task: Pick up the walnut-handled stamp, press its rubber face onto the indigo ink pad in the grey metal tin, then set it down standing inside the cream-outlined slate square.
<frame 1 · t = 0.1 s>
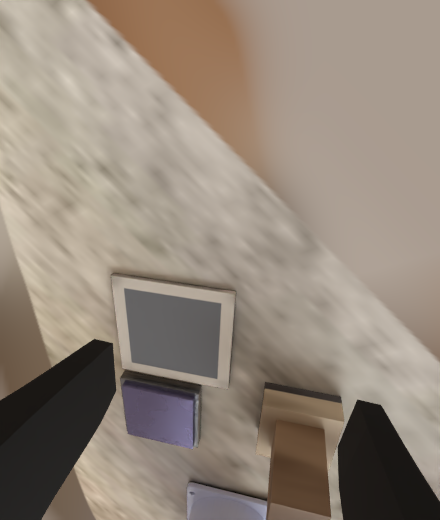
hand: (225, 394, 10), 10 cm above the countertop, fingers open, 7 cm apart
print mark: (174, 332, 23), on the countertop
ink pad: (163, 405, 26), on the countertop
pass stamp: (297, 413, 24), on the countertop
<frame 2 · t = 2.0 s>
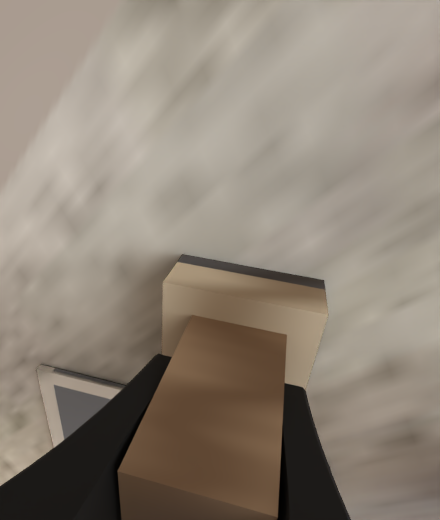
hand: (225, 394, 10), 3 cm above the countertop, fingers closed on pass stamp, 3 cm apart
print mark: (119, 436, 18), on the countertop
pass stamp: (242, 323, 13), on the countertop, touching gripper
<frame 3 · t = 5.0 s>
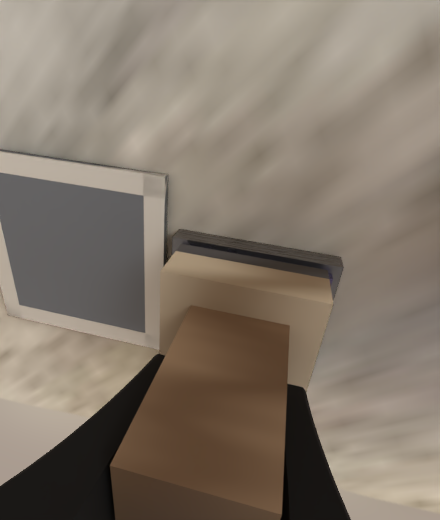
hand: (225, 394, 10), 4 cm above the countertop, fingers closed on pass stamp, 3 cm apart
print mark: (77, 254, 14), on the countertop
ink pad: (246, 308, 14), on the countertop
pass stamp: (242, 315, 12), point 1 cm above the countertop, touching gripper, ink pad
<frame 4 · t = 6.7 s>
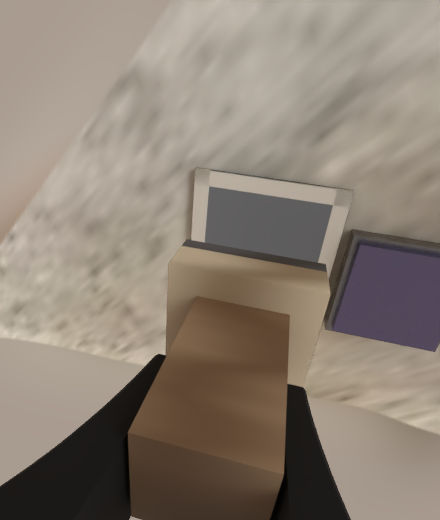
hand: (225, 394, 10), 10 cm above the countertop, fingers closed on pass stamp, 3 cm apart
print mark: (260, 248, 19), on the countertop
ink pad: (393, 288, 18), on the countertop
pass stamp: (245, 308, 13), point 7 cm above the countertop, touching gripper
when the fingers open (5 cm above the countertop, at t = 8.1 s): pass stamp stays where it is, resting on print mark.
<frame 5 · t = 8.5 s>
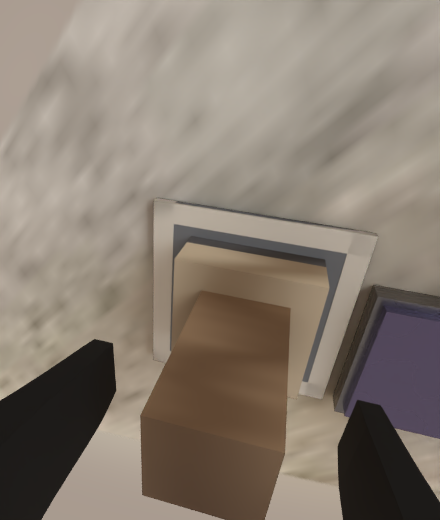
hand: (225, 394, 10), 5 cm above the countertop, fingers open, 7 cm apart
print mark: (246, 304, 14), on the countertop
ink pad: (428, 362, 13), on the countertop
pass stamp: (247, 302, 14), resting on print mark
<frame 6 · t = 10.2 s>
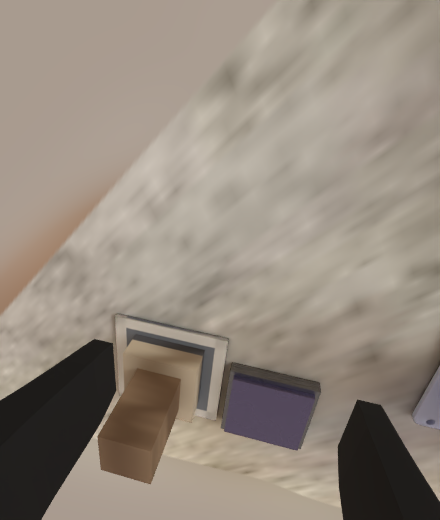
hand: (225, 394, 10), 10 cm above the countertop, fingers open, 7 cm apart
print mark: (169, 368, 25), on the countertop
ink pad: (267, 402, 24), on the countertop
pass stamp: (168, 368, 24), resting on print mark
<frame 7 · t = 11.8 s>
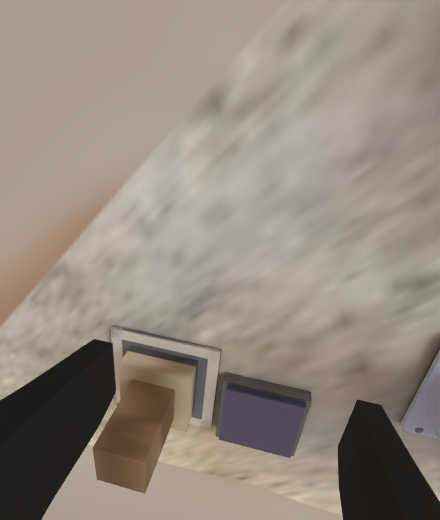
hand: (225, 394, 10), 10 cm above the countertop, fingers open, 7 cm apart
print mark: (164, 378, 25), on the countertop
ink pad: (260, 410, 25), on the countertop
pass stamp: (163, 377, 25), resting on print mark
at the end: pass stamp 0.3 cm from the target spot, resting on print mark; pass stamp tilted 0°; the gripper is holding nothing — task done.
